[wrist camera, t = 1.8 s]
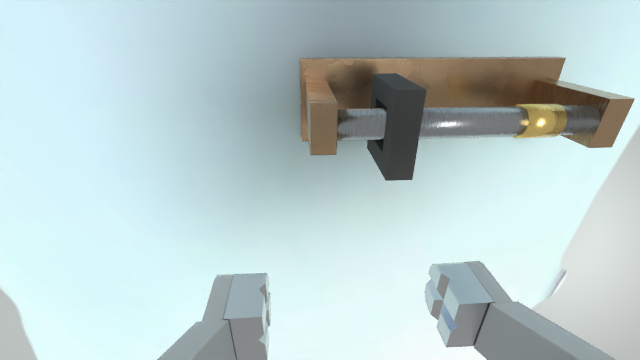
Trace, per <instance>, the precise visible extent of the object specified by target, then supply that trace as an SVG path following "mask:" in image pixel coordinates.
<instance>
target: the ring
mask: <svg viewBox="0 0 640 360" xmlns="http://www.w3.org/2000/svg"><path fill="white" fill-rule="evenodd" d="M426 91H427V90H426V89H424V88H423V87H421V86H419V85H417V84H415V83H413V82H412V81H410V80H408V79H406V78H404V77H402V76H400V75H399V74H397V73H385V74H373V81H372V94H371V106H370V109H377V108H387V115H386V125H385V134H384V139H374V140H368V143H367V148H368V150H369V152H370V153H371V155H372V157H373V159H374V160H375V162H376V164H377V166H378V167H379V169H380V171H381V173H382V174H383V176H384V178H385V180H386V181H387V180H412V177H413V171H414V165H415V159H416V153H417V146H418V140H419V134H420V128H421V122H422V116H423V109H424V103H425V97H426Z"/></svg>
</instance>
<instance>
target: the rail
mask: <svg viewBox="0 0 640 360" xmlns="http://www.w3.org/2000/svg"><path fill="white" fill-rule="evenodd" d="M565 59H566V58H562V57H472V58H300V88H301V129H302V141H309V147H310V155H336V147H337V140H374V139H384V134H385V125H386V115H387V108H377V109H370V106H371V94H372V81H373V74H385V73H397V74H399V75H400V76H402V77H404V78H406V79H408V80H410V81H412V82H413V83H415V84H417V85H419V86H421V87H423V88H424V89H426V90H427V91H426V97H425V103H424V109H423V116H422V122H421V128H420V134H419V139H420V138H462V137H505V136H512V137H514V138H537V137H555V136H557V135H561V136H564V137H566V138H568V139H570V140H573V141H575V142H577V143H579V144H582V145H584V146H586V147H588V148H601V147H612V146H613V144H614V141H615V139H616V137H617V135H618V133H619V131H620V129H621V127H622V125H623V123H624V120H625V118H626V116H627V114H628V112H629V110H630V108H631V106H632V104H633V102H634V98H630V97H626V96H622V95H618V94H613V93H609V92H605V91H601V90H597V89H592V88H588V87H584V86H580V85H576V84H572V83H567V82H563V81H559V80H558V79H559V76H560V73H561V70H562V67H563V64H564V61H565Z"/></svg>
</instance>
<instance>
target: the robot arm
mask: <svg viewBox="0 0 640 360" xmlns="http://www.w3.org/2000/svg"><path fill="white" fill-rule="evenodd" d="M429 275H430V277H431V280H430V281H429V282H428V283H427V284H426V288H425V300H426V304H427V307H428V309H429V312H430V314H431V315H432V316H433V317H435V318H436V319H437V320H438V324H437V329H438V331H439V333H440V335H441V338H442V340H443V342H444V344H445V346H446V347H462V346H474V348H475V349H476V350H477V351H478V352H479V353H481V354H482V355H483V356H484V357H485V358H486V359H487V360H615V359H614V358H613V357H611V356H610V355H608V354H606V353H604V352H602V351H601V350H599V349H598V348H596V347H594V346H593V345H591V344H589V343H587V342H586V341H584V340H582V339H581V338H579V337H577V336H576V335H574V334H572V333H570V332H569V331H567V330H565V329H564V328H562V327H560V326H559V325H557V324H555V323H553V322H552V321H550V320H548V319H547V318H545V317H543V316H541V315H540V314H538V313H536V312H535V311H533V310H531V309H530V308H528V307H526V306H525V305H523V304H521V303H519V302H513V301H512V300H511V299H510V297H509V296H508V295H507V293H506V292H505V291H504V290H503V288H502V287H501V286H500V285H499V283H498V282H497V281H496V279H495V278H494V277H493V276H492V274H491V273H490V272H489V270H488V269H487V268H486V267H485V265H484V264H483V263H481V262H480V261H473V262H463V263H462V262H458V263H443V264H432V265H431V267H430V270H429ZM268 287H269V279H268V274H267V273H256V274H234V275H217V277H216V278H215V280H214V283H213V286H212V290H211V293H210V296H209V300H208V303H207V306H206V310H205V313H204V316H203V319H202V322H196V323H195V324H194V325H193V326H192V327H191V328H190V329H189V330H188V331H187V332H186V333H185V334H183V335H182V336H181V337H180V338H179V339H178V340H177V341H176V342H175V343H174V344H173V345H172V346H171V347H170V348H169V349H168V350H167V351H166V352H165V353H164V354H163V355H162V356H161V357H160V358H159V359H157V360H267V358H268V345H269V333H268V327H269V326H270V318H271V299H270V292H268Z"/></svg>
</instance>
